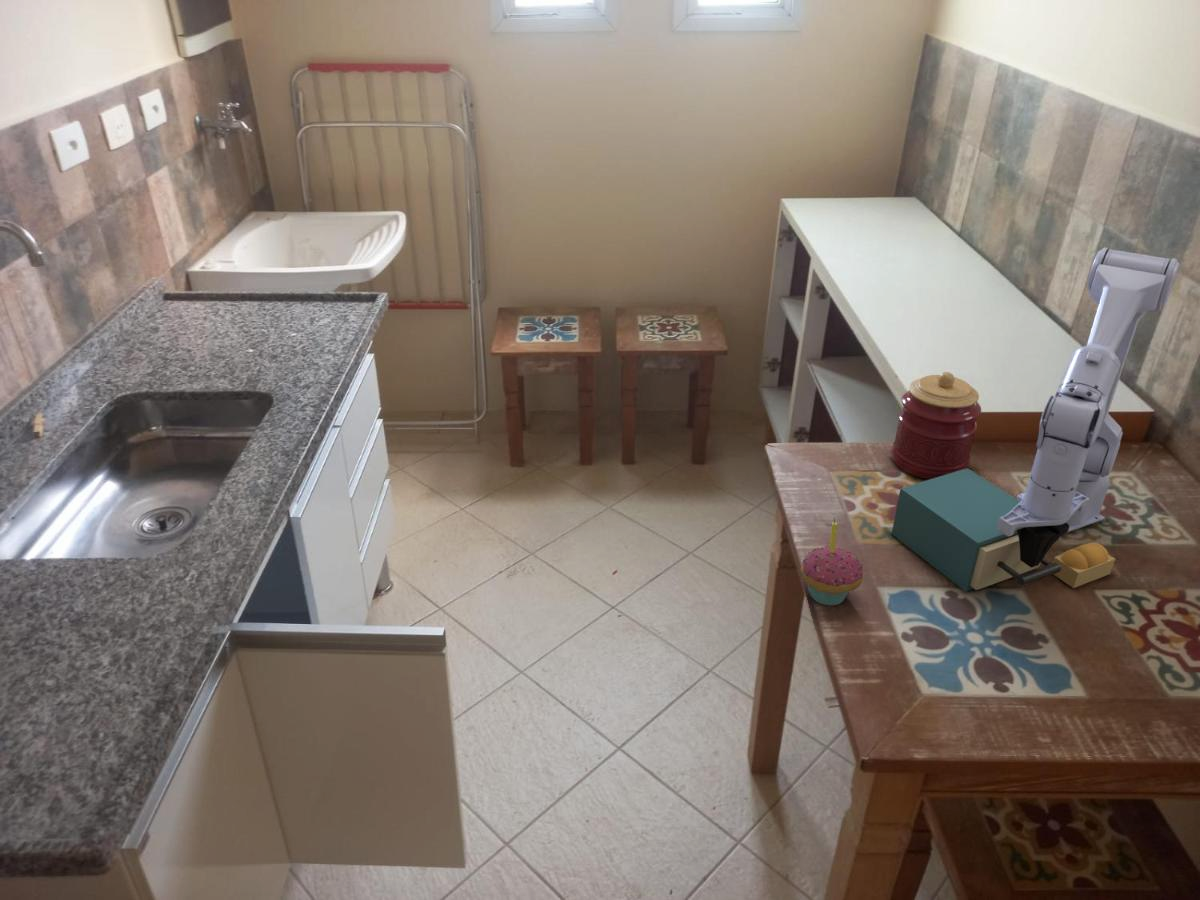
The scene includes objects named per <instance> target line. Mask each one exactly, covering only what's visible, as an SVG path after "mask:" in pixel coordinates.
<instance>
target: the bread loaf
mask: <svg viewBox="0 0 1200 900" xmlns="http://www.w3.org/2000/svg"><path fill="white" fill-rule="evenodd" d="M1115 561H1116V558H1115V557H1114V556H1112V555H1110V554H1109V552H1108V550H1107V549H1106V547H1104V545H1102V544H1100V543H1097V542H1086V543H1083V544H1082V545H1078V546H1076V547H1072V548H1070V549H1067V550H1066V551H1064V552H1063V553H1061V554H1059V555H1056V556H1054V557H1053V560H1052V563H1058V564H1059V565H1060V567H1061V571H1060V572H1058V573H1055V574H1053V575H1052V576H1054V577H1056V578H1058V579H1059V580H1061V581H1062V582H1064V583H1065V584H1066V585H1068V586H1070V587H1071V588H1072V589H1076V588H1078V587H1081V586H1083V585H1085V584H1088V583H1091V582H1093V581H1096V580H1098V579H1101V578H1103V577H1106V576H1109V575H1110V574H1111V572H1112V570H1113V567H1114V564H1115Z"/></svg>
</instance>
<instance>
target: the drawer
mask: <svg viewBox="0 0 1200 900" xmlns="http://www.w3.org/2000/svg"><path fill="white" fill-rule="evenodd" d="M1041 564H1042V565H1044V566H1041ZM1040 566H1041V567H1040ZM1060 571H1061V567H1060V565H1059V564H1058V563H1053V562H1050V561H1049V560H1048V559H1046V558H1045V557H1044V558H1043V559H1042V561H1041V562H1040V563H1039V565H1037V566H1035V567H1029V566H1028V565H1026V564H1025V563H1024V562H1022V561H1021V560H1020V544H1019V537H1018V534H1015V535H1012V536H1009V537H1006V538H1003V539H1000V540H997V541H995V542H992V543H989V544H986V545H983V546H981V547H980V550H979V553H978V557H977V561H976V565H975V569H974V573H973V576H972V580H971V584H970V586H971V587H973V588H974V590H975V591H979V590H981V589H985V588H986V587H989V586H992V585H994V584H997V583H1000V582H1003V581H1005V580H1008V579H1011V578H1014V579H1015V581H1016V583H1017V585H1018V586H1021V587H1023V586H1026V585H1029V584H1031V583H1033V582H1037V581H1039V580H1042V579H1044V578H1047V577H1049V576H1050V577H1051V576H1054V575H1053V574H1055V573H1058V572H1060Z"/></svg>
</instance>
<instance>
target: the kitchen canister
mask: <svg viewBox="0 0 1200 900" xmlns="http://www.w3.org/2000/svg"><path fill="white" fill-rule="evenodd" d="M979 399H980V395H979V392H978V391H977V390H976V389H975V388H974V387H973V386H972V385H970V384H969V383H968V382H966V381H965V380H963V379H961V378H958V377H955V376H954V375H953V373H952V372H950V371H944V372H942V373H940V374H930V375H926V376H923V377H921V378H917V379H915V380H913V381H911V382H910V384H909V386H908V390H907V391H906V392H905V393H903V395H902V396H901V404H902V406H903V407H902V409H901V410H900V411H899V413H898V422H897V427H896V433H895V438H894V441H893V443H892V449H891V451H892V460H893V463H894V464H895V465H896V466H897V467H898V468H899V469H901V470H902V471H903V472H905V473H907V474H910V475H911V476H914V477H917V478H921V479H924V480H925V479H926V480H930V479H933V478H937V477H940V476H943V475H947V474H950V473H953V472H957V471H960V470H963V469H967V468H968V467H969V463H970V459H971V451H972V447H973V442H974V438H975V434H976V432H977V429H978V424H977V422H976V421H977V418H979V416H980V415H981V413H982V407H981V405H980V403H979V402H978V401H979Z"/></svg>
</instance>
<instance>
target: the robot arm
mask: <svg viewBox="0 0 1200 900" xmlns="http://www.w3.org/2000/svg"><path fill="white" fill-rule="evenodd" d="M1179 268H1180V263H1179V261H1178V259H1177V258H1174V257H1173V258H1167V257H1160V256H1154V255H1148V254H1142V253H1137V252H1136V253H1135V252H1129V251H1123V250H1115V249H1110V248H1109V247H1103V248H1102V249H1100V250H1099V251H1097V253H1096V255H1095V257H1094V260H1093V263H1092V265H1091V268H1090V272H1089V274H1088V278H1087V283H1086V287H1087V291H1088V294H1089V299H1091V300H1092V301H1093V302H1095V303H1096V304H1097V305H1098V306H1097V310H1096V312H1095V316H1094V320H1093V323H1092V326H1091V330H1090V333H1089V337H1088V339H1087V343H1086V345H1085V346H1082V347H1079V348H1077V349H1076V350H1074V351H1073V352H1072V354H1071V357H1070V359H1069V361H1068V364H1067V366H1066V368H1065V371H1064V373H1063V375H1062V377H1061V380H1060V383H1059V385H1058V387H1057V389H1056V392H1055V395H1052V394H1051V395H1050V396H1049V397H1048V399H1047V401H1046V403H1045V405H1044V408H1043V411H1042V414H1041V417H1040V420H1039V424H1038V425H1039V426H1038V437H1037V441H1036V446H1035V447H1036V448H1037V450H1036V453H1035V457H1034V459H1033V460H1034V461H1033V464H1032V467H1031V470H1030V475H1029V477H1028V481H1027V485H1026V488H1025V492H1021V493H1019V494H1018V495H1017V496H1016V499H1017V500H1018V501H1019V503H1018V504H1017V505H1016V506H1015V507H1014V508H1013V509H1012V510H1011V511H1010V512H1009V513H1008V514H1006V515H1005V516H1002V517H1000V519H999V523H998V526H997V529H998V530H999V531H1000V532H1002V533H1003V534H1005V535H1006V536H1008V537H1009V536H1012V535H1013V534H1014V531H1015V530H1017V533H1018V537H1019V544H1020V560H1021V561H1022V562H1024V563H1025V564H1026V565H1028V566H1029V567H1035V566H1037V565H1039V563H1040V562H1041V561H1042V559H1043V558H1045V556H1046V555H1047V554H1048V552H1049V551H1050V550H1051V548H1052V547H1053V546H1054V545H1055V543H1056V542H1057V541H1058V540H1059V539H1060V538H1061V537H1062V536H1064V535H1066V534H1067V533H1070V532H1073V531H1076V530H1078V529H1082V528H1084V527H1086V526H1090V525H1092V524H1095V523H1098V522H1101V521H1104V519H1105V516H1103V515H1102V514H1101V511H1102V508H1103V505H1104V503H1105V499H1106V496H1107V494H1108V491H1109V488H1110V484H1111V483H1110V474H1111V472H1112V469H1113V467H1114V464H1115V461H1116V458H1117V457H1118V453H1119V450H1120V446H1121V441H1122V437H1123V434H1124V432H1123V428H1122V427H1121V426H1120V424H1118V422H1117V421H1116V420H1115V419H1114V418H1113V417H1112V416H1111V415H1110V413H1109V412H1110V408H1111V406H1112V402H1113V400H1114V397H1115V394H1116V390H1117V387H1118V384H1119V381H1120V379H1121V375H1122V372H1123V370H1124V366H1125V363H1126V361H1127V357H1128V354H1129V352H1130V348H1131V345H1132V343H1133V339H1134V337H1135V336H1134V335H1135V333H1136V330H1137V327H1138V324H1139V322H1140V320H1141V319H1142V318H1143V317H1144V316H1145V315H1146V314H1147V313H1155V312H1157V313H1158V312H1161V311H1162V310H1163V309H1164V308H1165V307H1166V304H1167V301H1168V300H1169V297H1170V294H1171V292H1172V289H1173V286H1174V284H1175V281H1176V277H1177V275H1178V272H1179Z"/></svg>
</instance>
